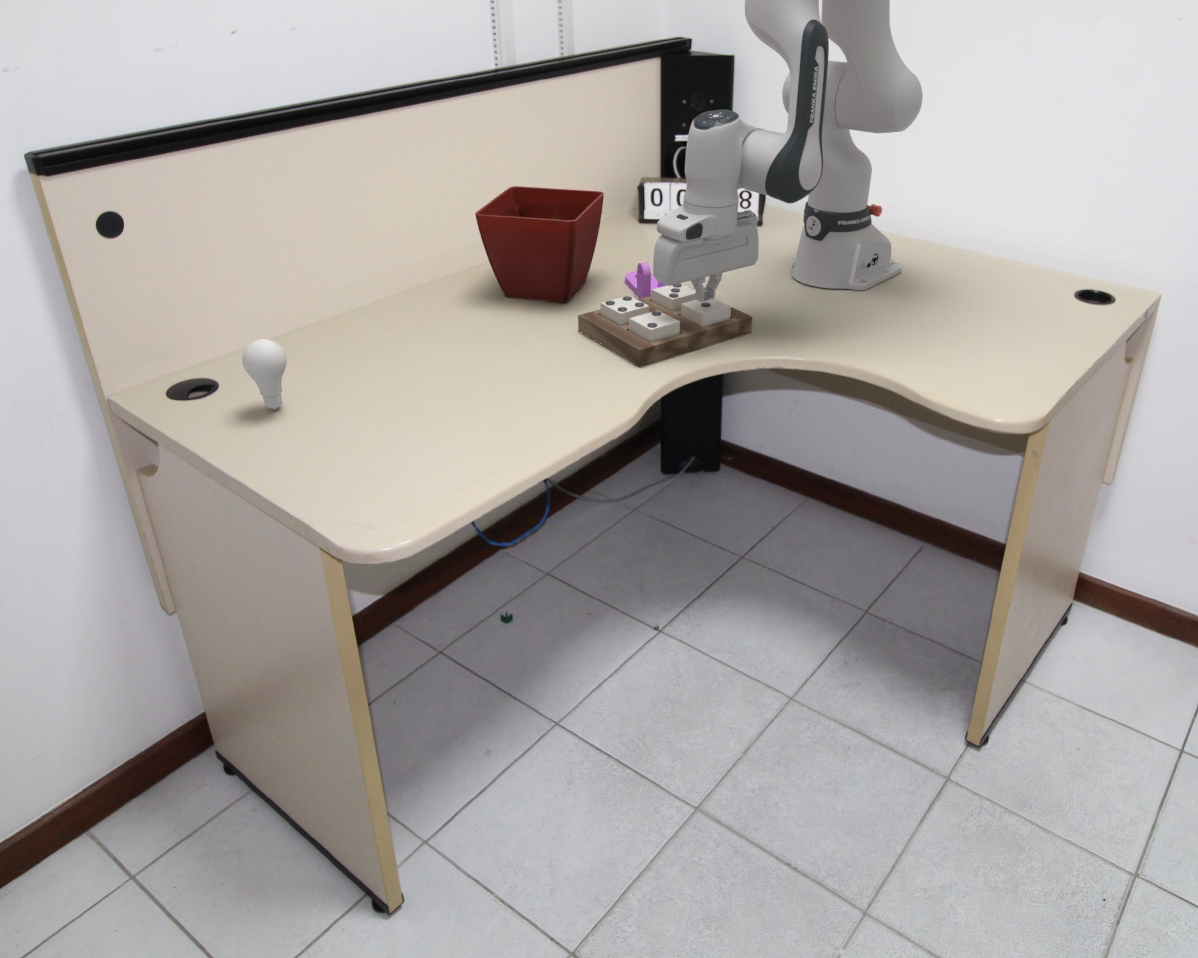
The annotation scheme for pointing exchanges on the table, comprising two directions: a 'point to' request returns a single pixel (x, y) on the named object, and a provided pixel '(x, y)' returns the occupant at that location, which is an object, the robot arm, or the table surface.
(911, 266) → the table surface
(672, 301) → the button three dots
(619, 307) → the button four dots
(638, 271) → the bracket
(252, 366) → the lightbulb
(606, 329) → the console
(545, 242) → the plant pot
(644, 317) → the button two dots
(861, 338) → the table surface
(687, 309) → the button one dot
